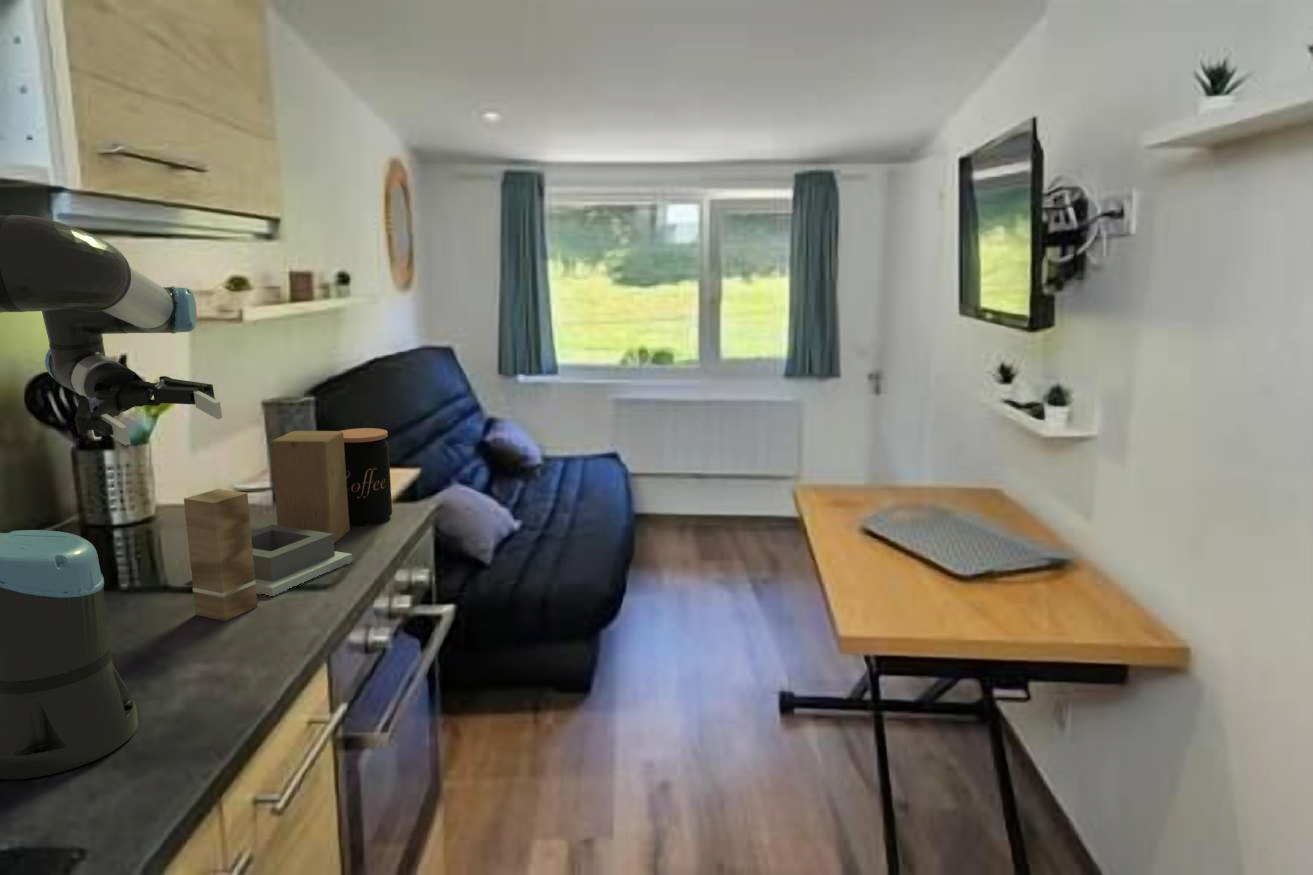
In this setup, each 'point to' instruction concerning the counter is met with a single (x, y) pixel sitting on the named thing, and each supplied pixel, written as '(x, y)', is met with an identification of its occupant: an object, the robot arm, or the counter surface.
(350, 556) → the socket board
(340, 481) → the wooden block
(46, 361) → the robot arm
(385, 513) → the coffee jar
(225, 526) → the walnut peg
